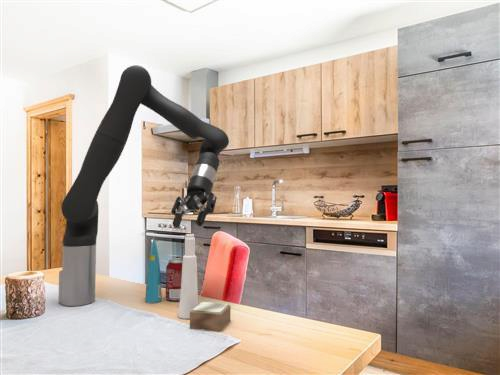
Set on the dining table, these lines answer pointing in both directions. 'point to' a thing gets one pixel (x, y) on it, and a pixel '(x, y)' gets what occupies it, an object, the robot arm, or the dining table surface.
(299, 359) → the dining table surface
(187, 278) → the cosmetic bottle
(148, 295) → the tube
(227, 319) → the pedestal
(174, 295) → the soda can
